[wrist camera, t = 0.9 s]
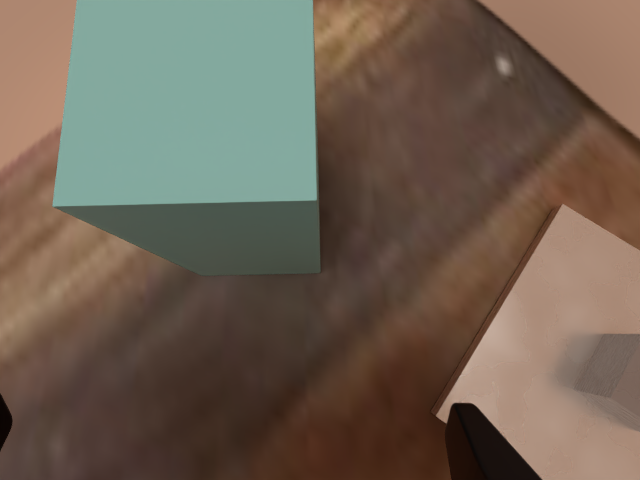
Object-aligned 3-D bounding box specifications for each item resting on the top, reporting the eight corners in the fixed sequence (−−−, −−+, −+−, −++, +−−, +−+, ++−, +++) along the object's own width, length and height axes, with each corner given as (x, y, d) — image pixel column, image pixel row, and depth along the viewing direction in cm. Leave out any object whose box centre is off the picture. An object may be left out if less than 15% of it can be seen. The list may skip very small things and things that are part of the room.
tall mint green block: (320, 273, 21) (316, 200, 10) (201, 275, 21) (52, 206, 10) (318, 161, 23) (312, -24, 11) (206, 164, 23) (78, -18, 11)
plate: (667, 580, 18) (746, 637, 15) (430, 412, 20) (452, 428, 16) (774, 346, 20) (866, 348, 17) (552, 209, 22) (594, 186, 18)
